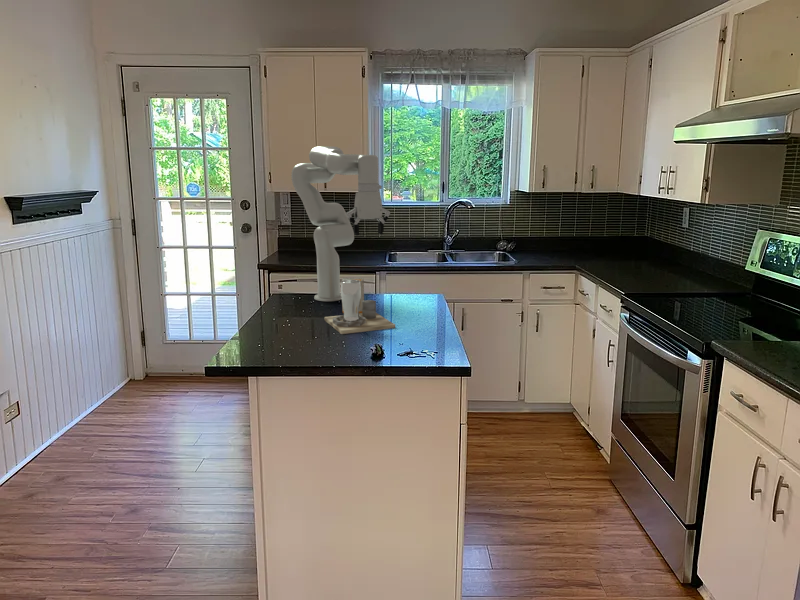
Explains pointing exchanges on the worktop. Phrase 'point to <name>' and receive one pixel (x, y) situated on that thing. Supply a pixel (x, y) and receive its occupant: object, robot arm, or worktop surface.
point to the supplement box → (361, 291)
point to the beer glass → (351, 299)
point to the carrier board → (364, 327)
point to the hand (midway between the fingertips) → (368, 234)
